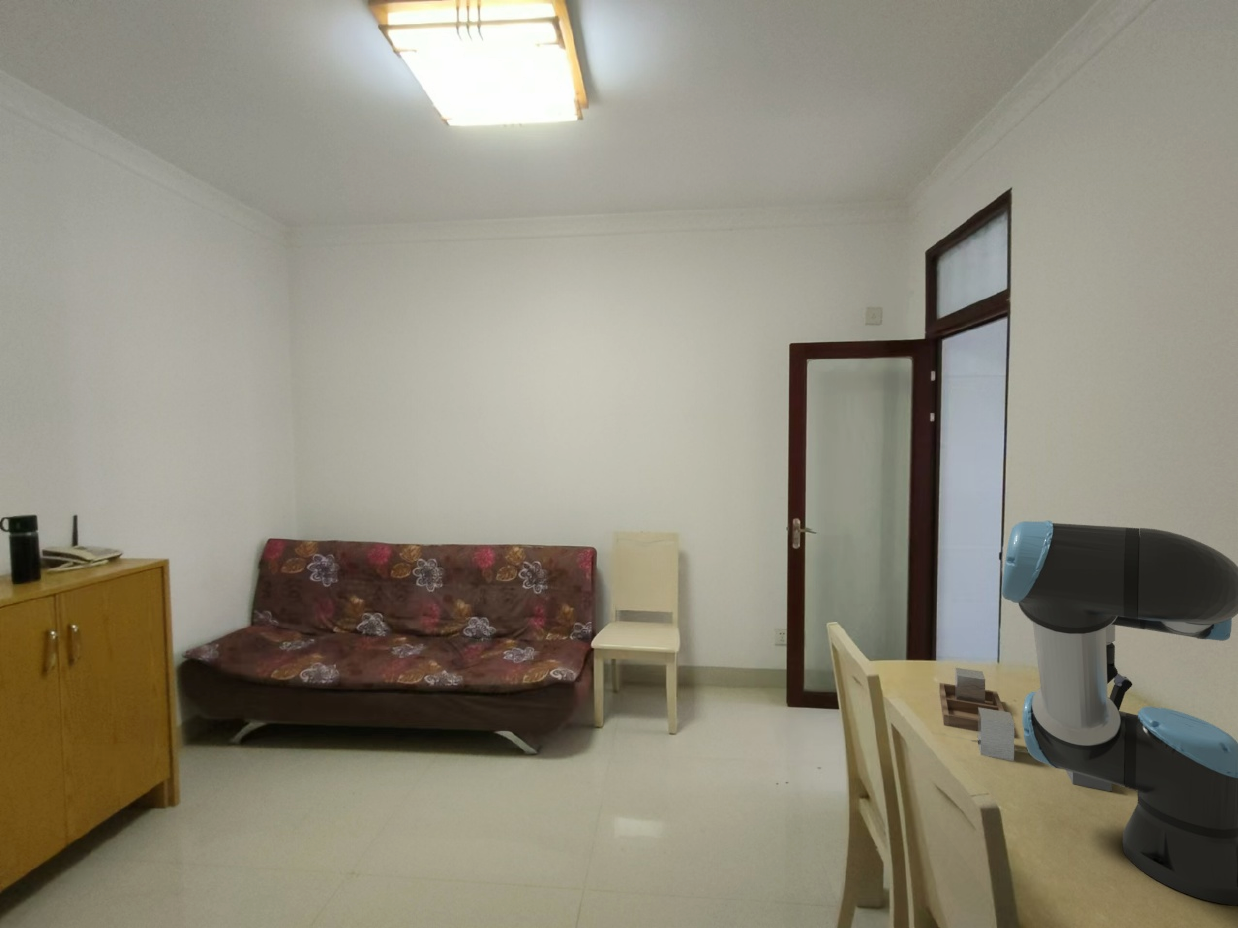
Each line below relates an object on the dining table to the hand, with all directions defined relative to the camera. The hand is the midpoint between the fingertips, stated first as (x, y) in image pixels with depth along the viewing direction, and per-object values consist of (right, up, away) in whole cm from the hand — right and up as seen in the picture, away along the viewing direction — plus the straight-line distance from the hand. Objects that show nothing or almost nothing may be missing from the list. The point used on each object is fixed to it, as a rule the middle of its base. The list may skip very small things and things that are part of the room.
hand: (1088, 756), depth 116 cm
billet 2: (-11, -5, +11) cm, 17 cm away
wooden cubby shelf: (-6, -4, +28) cm, 29 cm away
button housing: (0, -5, 0) cm, 5 cm away
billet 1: (-4, -3, +32) cm, 33 cm away
